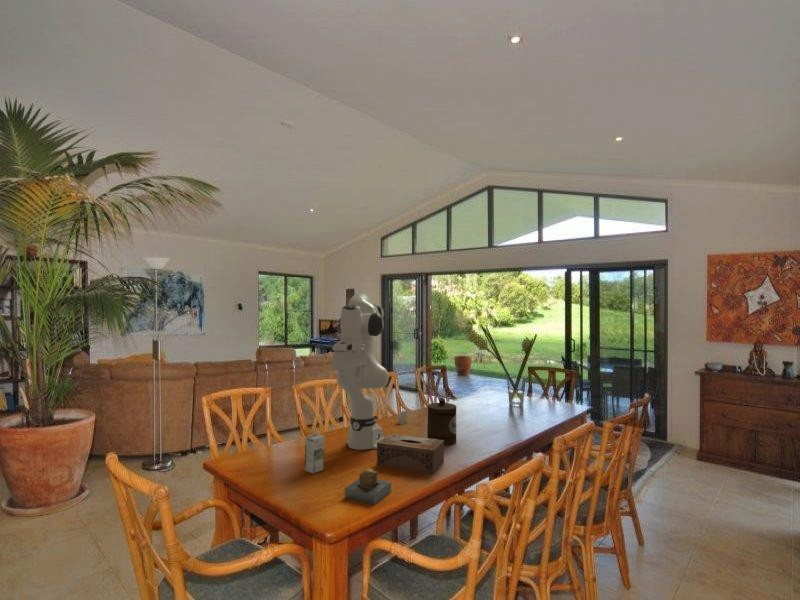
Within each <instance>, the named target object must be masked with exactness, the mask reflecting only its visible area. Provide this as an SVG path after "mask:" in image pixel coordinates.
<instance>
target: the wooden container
mask: <svg viewBox="0 0 800 600" xmlns="http://www.w3.org/2000/svg"><path fill="white" fill-rule="evenodd" d="M426 424H427V426H426V428H427V429H426V430H427V431H426V432H427V434H426V436H427V437H426V438H429V439H437V440H444V447H446V446H451V445H454V444H456V443H457V405H456V404H453V403H449V402H446V399H445V398H444V397H440V398H439V399H438V402H432V403H429V404H428V405H427V423H426Z"/></svg>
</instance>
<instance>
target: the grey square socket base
mask: <svg viewBox="0 0 800 600" xmlns="http://www.w3.org/2000/svg"><path fill="white" fill-rule="evenodd" d="M391 492H392V482H391V481H387V480H382V479H378V478H377V486H376V487H374V488H373V489H372V490H370V489H366V488H361V487H360V477H359V478H358V479H356V480H355V481H353V482H352V483H350V484H349V485H347V486H345V487H344V498H345V499H349V500H352V501H353V500H354V501H355V502H356V501H357V502H362V503H365V504H368V505H372V506H375V505H376V504H377V503H378V502H380V501H381V500H382V499H384V498H385V497H387V496H388V495H389V494H390V493H391Z"/></svg>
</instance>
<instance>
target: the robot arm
mask: <svg viewBox="0 0 800 600" xmlns="http://www.w3.org/2000/svg"><path fill="white" fill-rule="evenodd" d="M384 315H385V312H384V309H383V306H382V305H381V304H379V303H378V304H377V303H371V300H370V298H369V296H368V295H367V294H366V293H363V292H358V293H356V294H354V295H352V297H351V298H350V299H349V301H348V302H347V304H346V305H344V306H342V307H341V313H340V318H339V319H338V329H339V331H340V337H339V339H340V340H339V341H337V342H336V343H334V344H333V345H332V351H333V353H332V368H333V370H334V371H337V373H336V377H335V379H336V382H337V384H338V386H339V387H340V388H341V389H343V390H344V391H345V393H346V394H347V395H348V397H349V400H350V408H351V409H350V410H351V416H350V419H349V421H350V426H348V427H349V428H348V434H347V435H348V436H347V440H346V442H345V443H346V444H347V447H348V448H350V449H353V450H360V451H362V450H363V451H364V450H365V451H366V450H373V449H375V450H377V442H379V441H380V440H382V439H383V438H385V437H386V436H384V431H383V428H382V427H381V426H380V425H378V424H377V421H376V420H378V419H379V414H378V415H377V414H376V415H375V412H374V411H375V410H374V409H375V408H374V407H375V402H374V400H373V398H372V397H370V396H368V395H367V394H364V392H363V391H362V390H363V389H364V390H365V389H366V390H367V389H369V390H371V389H379V388H380V389H382V388H384V387H386V386H387V385H388V383H389V380H390V379H389V378H390V374H389V371H388V370H387V369H386V368H385V367H384V366H383V365H381V364H380V362H379V361H378V360H377V357H376V354H375V337H378V336H380V335H381V334H382V333H383V332H384V327H385V323H384Z"/></svg>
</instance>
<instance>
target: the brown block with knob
mask: <svg viewBox="0 0 800 600" xmlns="http://www.w3.org/2000/svg"><path fill="white" fill-rule="evenodd" d="M359 478H360V487H361V488H366V489H370V490H372V489H373V488H374V487H376V486H377V479H378V471H376V470H373V469H371V468H367V469H364V470H363V471H362V472H360V473H359Z"/></svg>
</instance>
